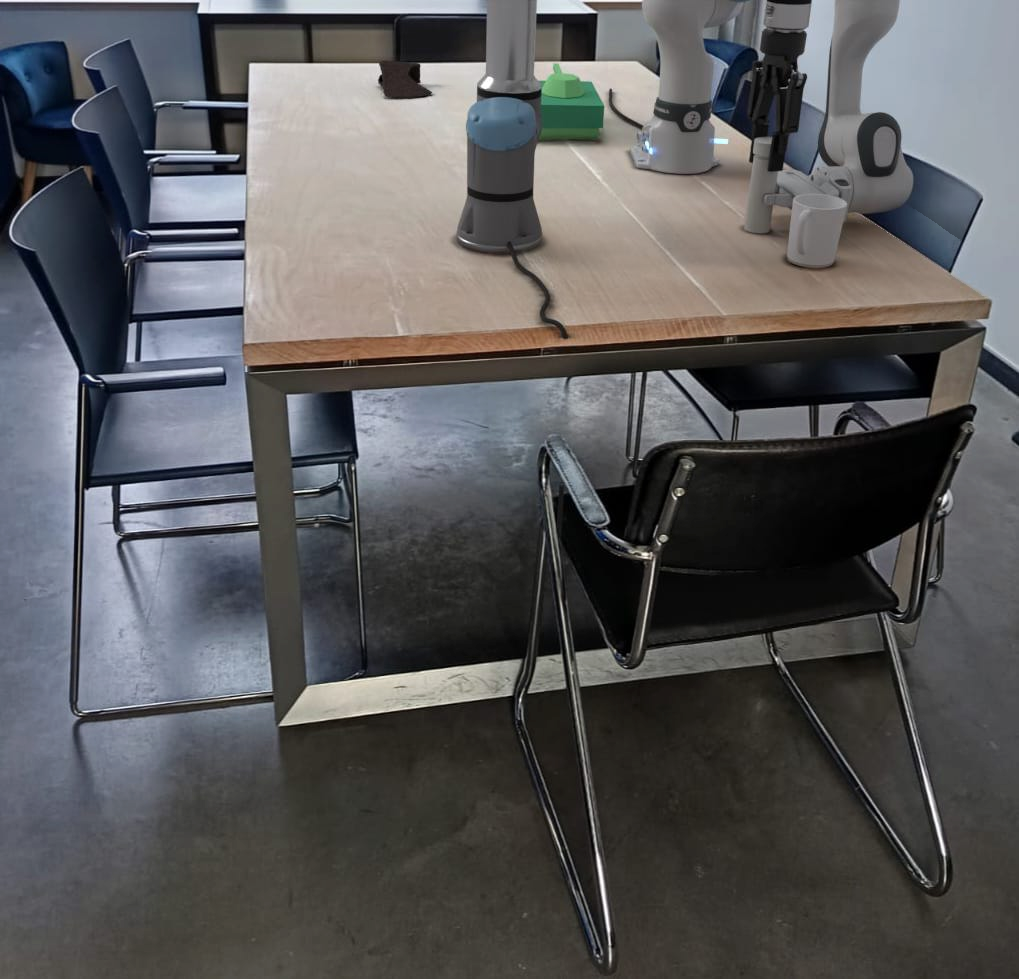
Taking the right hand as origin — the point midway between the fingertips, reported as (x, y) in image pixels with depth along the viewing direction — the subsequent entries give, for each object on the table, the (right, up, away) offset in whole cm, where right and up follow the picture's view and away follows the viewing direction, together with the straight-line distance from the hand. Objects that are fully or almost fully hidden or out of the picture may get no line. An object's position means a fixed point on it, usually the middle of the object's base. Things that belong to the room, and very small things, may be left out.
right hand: (757, 194), depth 200 cm
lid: (+1, +8, -5) cm, 9 cm away
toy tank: (-33, +36, +70) cm, 85 cm away
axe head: (-75, +55, +100) cm, 136 cm away
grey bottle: (+1, -6, +4) cm, 7 cm away
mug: (+6, -15, -11) cm, 20 cm away
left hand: (+1, +4, -3) cm, 5 cm away
